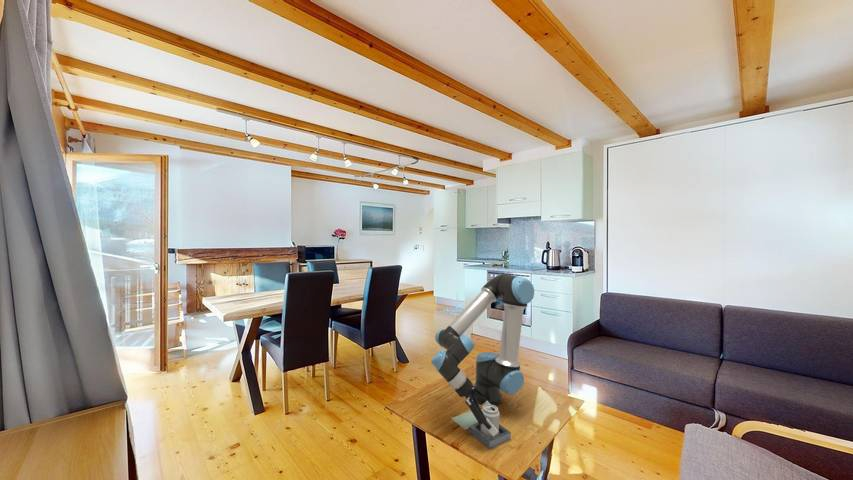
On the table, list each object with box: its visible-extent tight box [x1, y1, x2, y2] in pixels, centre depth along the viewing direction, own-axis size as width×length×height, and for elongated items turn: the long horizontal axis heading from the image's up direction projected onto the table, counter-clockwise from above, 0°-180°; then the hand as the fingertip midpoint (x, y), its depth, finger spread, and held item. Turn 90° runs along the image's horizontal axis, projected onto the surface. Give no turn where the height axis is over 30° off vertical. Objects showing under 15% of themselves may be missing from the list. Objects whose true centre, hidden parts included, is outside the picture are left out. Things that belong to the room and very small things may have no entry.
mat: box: [451, 410, 478, 431], centre depth 142 cm, size 12×10×1 cm
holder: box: [468, 423, 512, 450], centre depth 131 cm, size 12×12×3 cm
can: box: [480, 404, 501, 438], centre depth 131 cm, size 8×8×12 cm
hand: (495, 424), depth 131 cm, fingers open, 13 cm apart
